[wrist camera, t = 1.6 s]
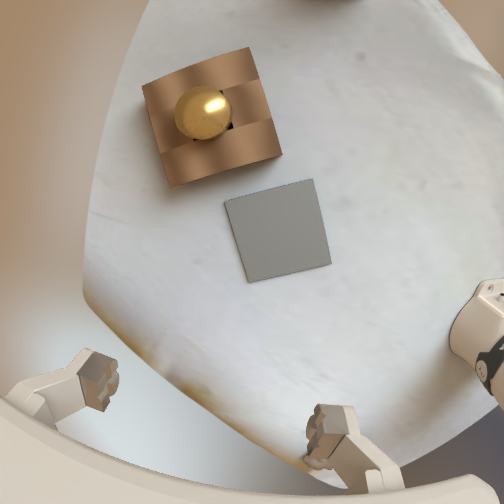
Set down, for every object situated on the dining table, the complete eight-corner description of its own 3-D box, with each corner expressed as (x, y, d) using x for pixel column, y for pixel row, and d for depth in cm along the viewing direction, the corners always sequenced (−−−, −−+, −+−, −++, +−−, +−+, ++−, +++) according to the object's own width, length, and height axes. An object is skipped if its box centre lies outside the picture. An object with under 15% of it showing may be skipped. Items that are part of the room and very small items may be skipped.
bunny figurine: (298, 461, 52) (365, 449, 47) (300, 443, 57) (365, 431, 52) (311, 476, 55) (373, 466, 50) (313, 460, 59) (372, 449, 54)
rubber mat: (312, 178, 38) (312, 178, 37) (331, 262, 41) (331, 263, 41) (225, 201, 40) (224, 201, 39) (249, 281, 43) (249, 282, 43)
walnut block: (252, 58, 33) (248, 46, 29) (282, 154, 37) (282, 154, 33) (156, 92, 36) (141, 86, 31) (182, 183, 40) (170, 187, 35)
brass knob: (231, 92, 35) (219, 78, 27) (244, 133, 37) (235, 128, 29) (189, 106, 36) (168, 97, 29) (201, 147, 38) (182, 146, 30)
